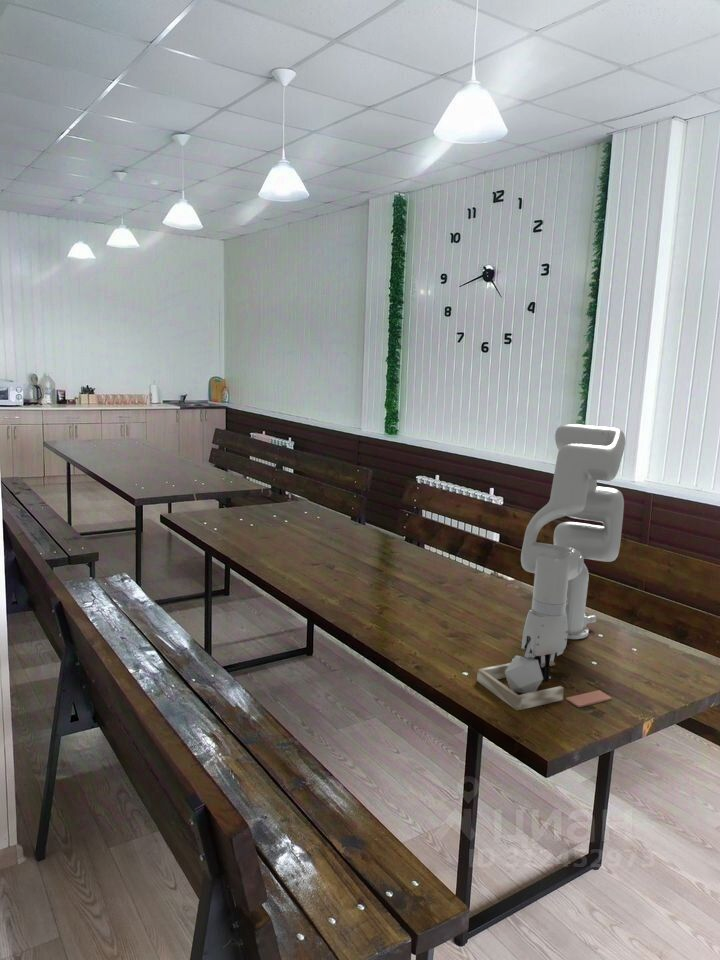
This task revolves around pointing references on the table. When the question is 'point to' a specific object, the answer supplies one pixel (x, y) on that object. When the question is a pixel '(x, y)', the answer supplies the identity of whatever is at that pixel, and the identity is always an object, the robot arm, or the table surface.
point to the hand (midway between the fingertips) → (541, 679)
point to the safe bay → (510, 697)
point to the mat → (588, 698)
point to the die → (524, 675)
